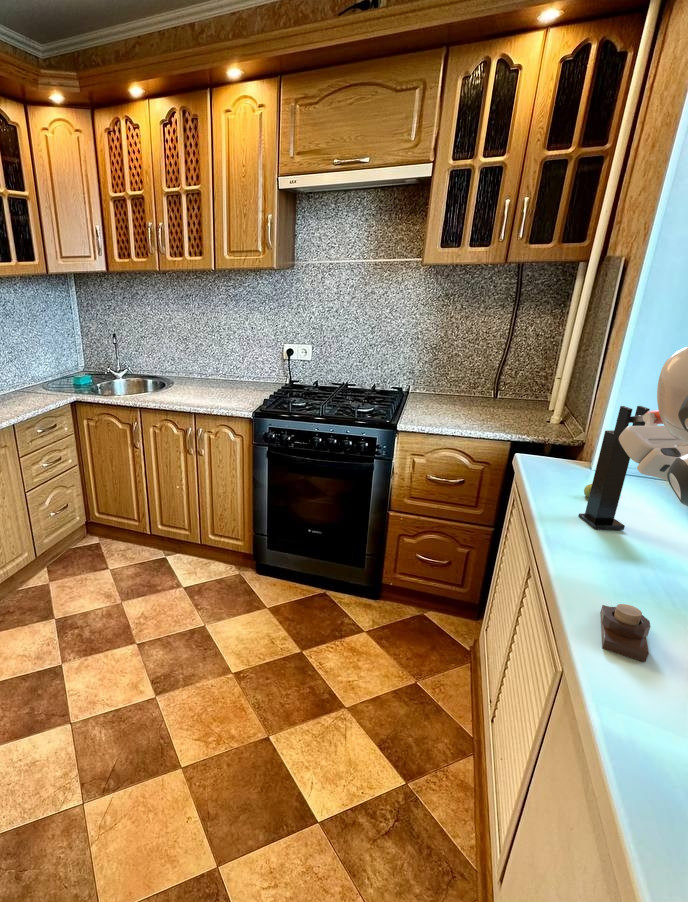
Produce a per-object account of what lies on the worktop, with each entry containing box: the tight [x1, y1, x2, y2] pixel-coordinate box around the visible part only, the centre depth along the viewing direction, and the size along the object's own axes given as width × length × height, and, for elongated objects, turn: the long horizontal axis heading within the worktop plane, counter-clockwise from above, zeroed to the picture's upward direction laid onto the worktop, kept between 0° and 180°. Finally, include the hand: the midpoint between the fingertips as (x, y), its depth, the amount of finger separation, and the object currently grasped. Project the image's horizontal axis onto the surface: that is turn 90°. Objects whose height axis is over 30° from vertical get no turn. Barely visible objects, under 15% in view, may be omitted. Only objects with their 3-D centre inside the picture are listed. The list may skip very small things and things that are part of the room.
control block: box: [599, 604, 651, 663], centre depth 94 cm, size 12×6×4 cm, turn 146°
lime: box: [583, 483, 592, 499], centre depth 147 cm, size 4×5×5 cm
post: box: [578, 405, 651, 531], centre depth 129 cm, size 7×7×31 cm
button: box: [614, 603, 643, 625], centre depth 93 cm, size 4×4×2 cm
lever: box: [629, 409, 664, 425], centre depth 119 cm, size 12×3×3 cm, turn 176°
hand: (658, 414), depth 116 cm, fingers closed on lever, 3 cm apart
